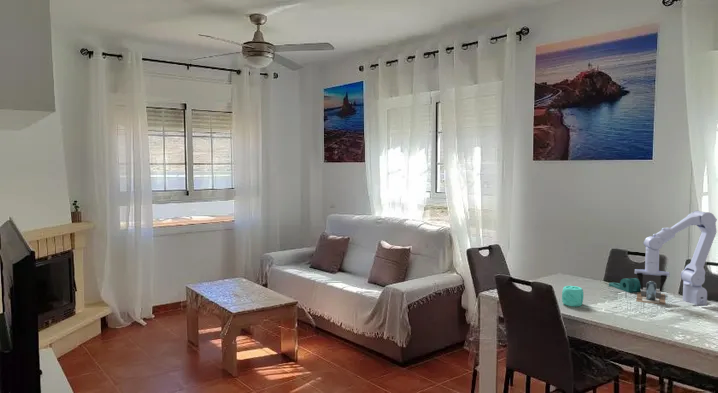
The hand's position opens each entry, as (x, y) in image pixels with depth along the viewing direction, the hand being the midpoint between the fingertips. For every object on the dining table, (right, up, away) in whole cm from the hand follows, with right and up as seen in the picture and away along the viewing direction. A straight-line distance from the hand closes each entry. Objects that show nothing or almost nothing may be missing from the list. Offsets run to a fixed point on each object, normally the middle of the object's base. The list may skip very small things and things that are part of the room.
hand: (651, 289), depth 244 cm
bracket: (-1, -5, +25) cm, 25 cm away
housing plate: (+3, -6, +5) cm, 8 cm away
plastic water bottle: (0, -5, +1) cm, 5 cm away
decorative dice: (-39, -7, -2) cm, 39 cm away
